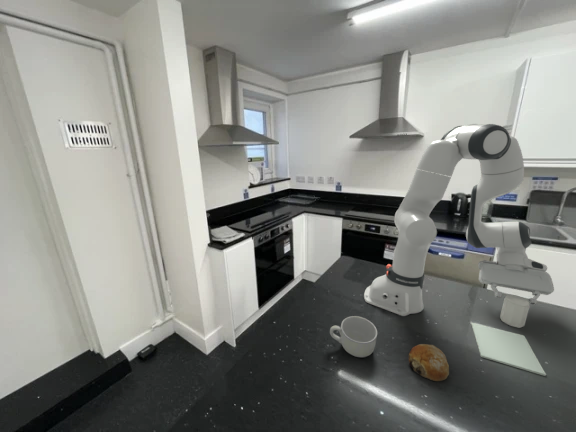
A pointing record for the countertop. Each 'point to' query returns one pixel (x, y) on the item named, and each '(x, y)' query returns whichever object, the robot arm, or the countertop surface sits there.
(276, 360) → the countertop surface
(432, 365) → the bread roll
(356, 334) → the teacup
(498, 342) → the mat
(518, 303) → the domed hexagonal post
